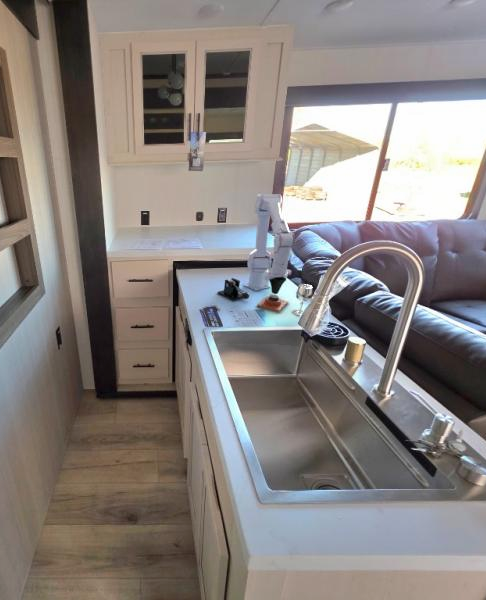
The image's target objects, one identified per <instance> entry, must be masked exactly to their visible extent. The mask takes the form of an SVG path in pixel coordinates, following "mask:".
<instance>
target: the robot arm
mask: <svg viewBox="0 0 486 600" xmlns="http://www.w3.org/2000/svg"><path fill="white" fill-rule="evenodd" d="M282 202H283V197H282V195H281V194H280V193H273V194H271V193H268V194H266V193H265V194H262V193H259V194H257V196H256V199H255V204H254V213H255V214H256V215H257V222H256V235H255V248H254V249H253V250H252V251H251V252H249V254H248V258H247V265H246V266H247V268H248V269H249V276H248V283H246V284H243V286H244V287H246V288H249V289H251V290H254V291H260V290H264V289H267V288H270V289H271V294H273V295H277V294H278V293H279V292H280V290H281V288H282V286H283V284H284V283H285V282H286V281H287V278H288V276H291V275H292V270H291V269H288V264H289V259H290V253H291V249H292V248H293V247H294V246H295V244H296V237H295V233H294V232H292V230H290V229H289V226H288V223H287V219H284V218H283V216H282V211H281V206H282ZM270 218H271V220H272V222H271V225H270V226H271V230H272V233H273V236H274V238H273V258H272V255H271V253H270V252H269V251H268V250H267V246H268V245H267V244H268V234H269V233H268V231H269V222H270V221H269V220H270ZM270 268H271V270H270ZM269 270H270V271H269ZM269 283H270V285H269Z"/></svg>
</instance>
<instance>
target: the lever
mask: <svg viewBox="0 0 486 600" xmlns="http://www.w3.org/2000/svg"><path fill="white" fill-rule="evenodd" d="M229 281H231V282H234V283H233V288H235V289H236V290H237V291H238V293H239V294H242V297H243V298H242V299H244V300H248V299H250V294H249V292H246V291H245V292H244V290H243V289H241V288H240V286H239V287H237V286H236V284H237V283H236V282H235V281H233V280H231V279H230V280H229Z"/></svg>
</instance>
